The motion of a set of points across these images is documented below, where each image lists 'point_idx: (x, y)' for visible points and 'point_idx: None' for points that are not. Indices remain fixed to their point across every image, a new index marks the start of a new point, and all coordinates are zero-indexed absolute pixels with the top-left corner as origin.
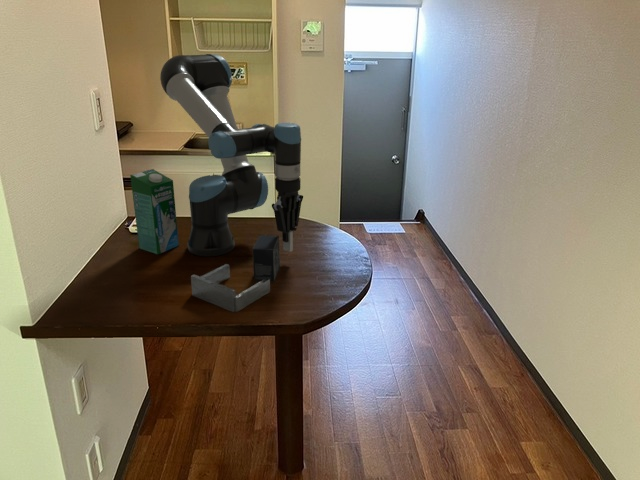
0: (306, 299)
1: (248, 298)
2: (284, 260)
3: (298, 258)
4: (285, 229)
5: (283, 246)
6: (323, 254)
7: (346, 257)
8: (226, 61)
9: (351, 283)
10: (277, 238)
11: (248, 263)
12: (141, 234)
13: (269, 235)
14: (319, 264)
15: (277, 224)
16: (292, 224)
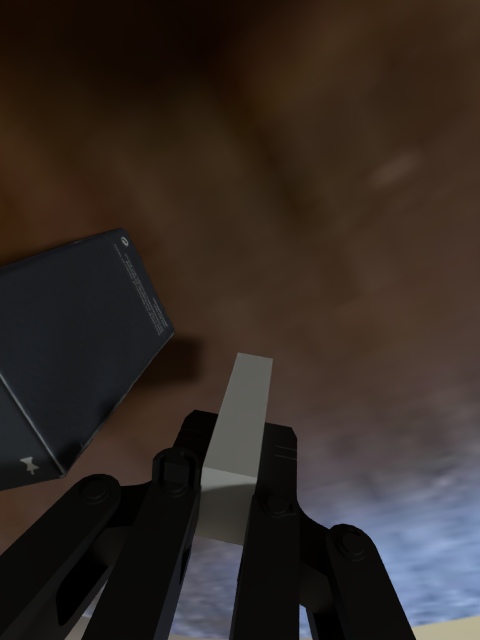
0: (8, 522)
1: None
2: (262, 318)
3: (326, 376)
4: (102, 569)
5: (233, 369)
6: (437, 470)
7: (438, 563)
8: None
9: (200, 609)
10: (5, 489)
11: (102, 131)
12: None
13: (6, 400)
14: (302, 486)
15: (4, 567)
16: (231, 624)
